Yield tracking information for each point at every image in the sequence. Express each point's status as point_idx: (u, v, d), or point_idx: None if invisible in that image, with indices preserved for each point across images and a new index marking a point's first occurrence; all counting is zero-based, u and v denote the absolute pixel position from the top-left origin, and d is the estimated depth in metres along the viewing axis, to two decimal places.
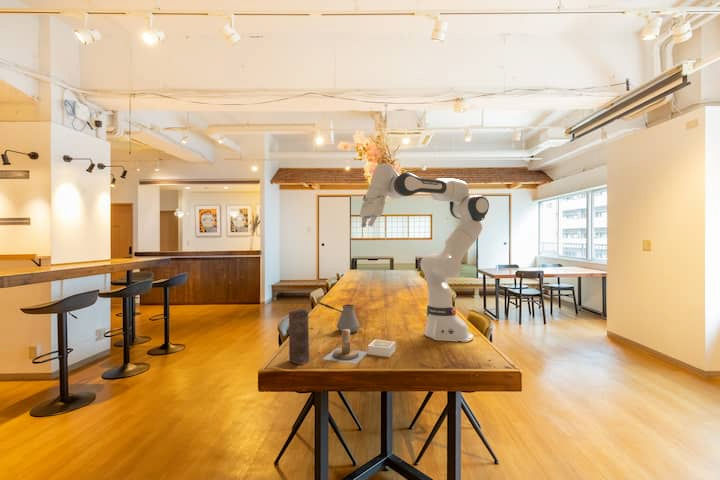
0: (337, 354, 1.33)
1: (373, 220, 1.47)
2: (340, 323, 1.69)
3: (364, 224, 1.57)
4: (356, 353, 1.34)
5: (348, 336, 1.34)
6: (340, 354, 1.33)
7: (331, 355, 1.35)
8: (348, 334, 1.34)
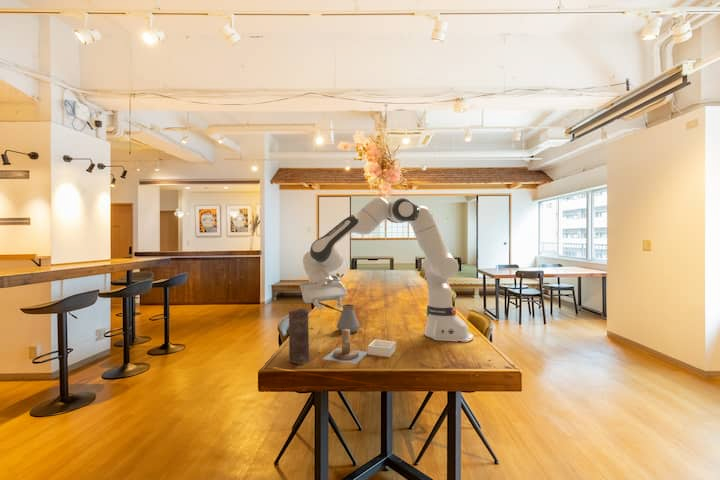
0: (337, 354, 1.33)
1: (316, 304, 1.43)
2: (340, 323, 1.69)
3: (338, 304, 1.48)
4: (356, 353, 1.34)
5: (348, 336, 1.34)
6: (340, 354, 1.33)
7: (331, 355, 1.35)
8: (348, 334, 1.34)
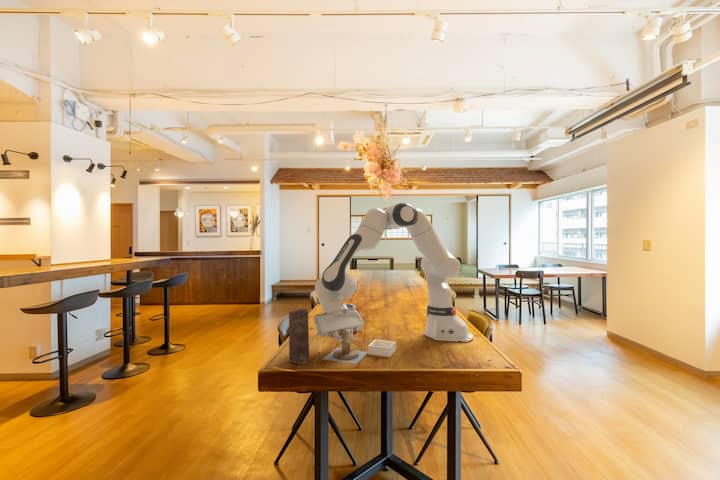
0: (337, 354, 1.33)
1: (336, 336, 1.34)
2: None
3: None
4: (356, 353, 1.34)
5: (348, 336, 1.34)
6: (340, 354, 1.33)
7: (331, 355, 1.35)
8: (348, 334, 1.34)
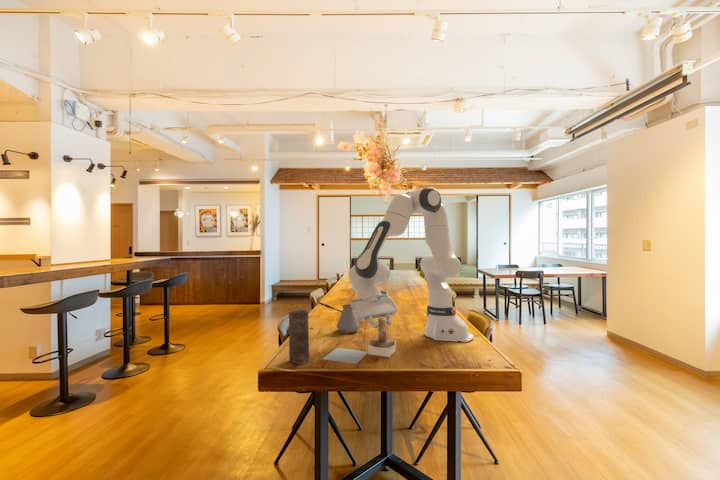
0: (374, 342, 1.37)
1: (371, 321, 1.37)
2: (340, 323, 1.69)
3: (387, 322, 1.41)
4: (392, 341, 1.39)
5: (385, 325, 1.38)
6: (377, 342, 1.37)
7: (331, 355, 1.35)
8: (385, 323, 1.38)
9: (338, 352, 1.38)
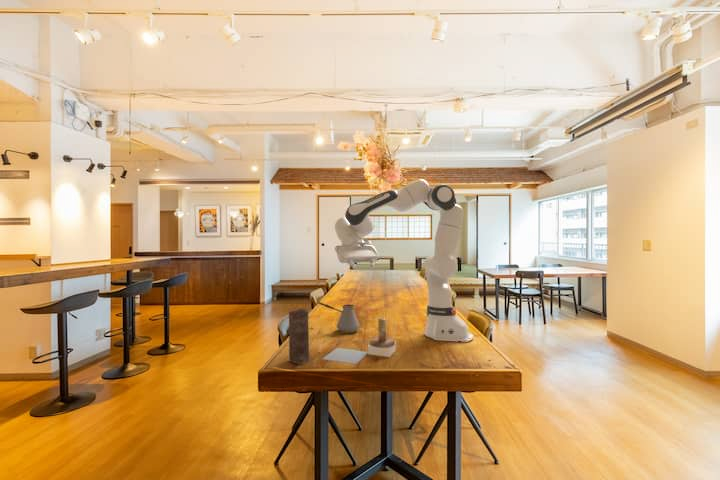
0: (374, 342, 1.37)
1: (351, 263, 1.51)
2: (340, 323, 1.69)
3: (371, 265, 1.56)
4: (392, 341, 1.39)
5: (385, 325, 1.38)
6: (377, 342, 1.37)
7: (331, 355, 1.35)
8: (385, 323, 1.38)
9: (338, 352, 1.38)
